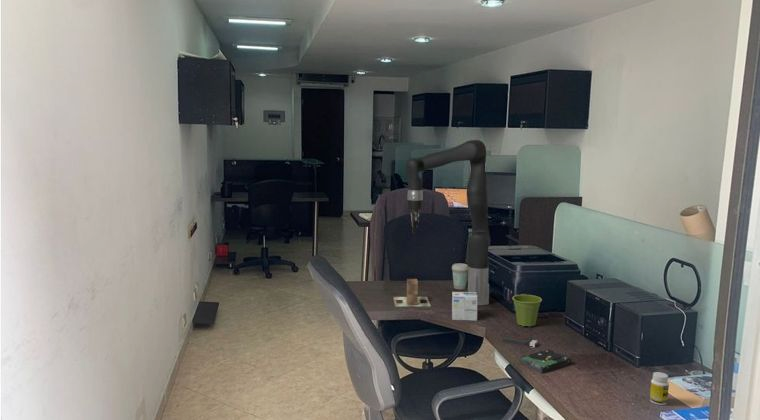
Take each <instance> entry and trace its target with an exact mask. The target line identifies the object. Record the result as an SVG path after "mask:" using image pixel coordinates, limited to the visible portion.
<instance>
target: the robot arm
mask: <svg viewBox="0 0 760 420" xmlns="http://www.w3.org/2000/svg"><path fill="white" fill-rule="evenodd" d="M486 160H487V148H486V145H485V143H484V142H483V141H482V140H480V139H473V140H472V139H471V140H467V141H464V142H463V143H461V144H459V145H456V146H454V147H452V148H449V149H446V150H439V151H436V152H431V153H428V154H426V155H424V156H422V157H421V156H419V157H411V158H409V159H407V160H406V163H405V173H406V178H407V185H408V186H407V198H406V199H407V201H406V202H407V203H406V204H407V206H406V208H407V209H409V210H411V212H410V222H411V227H412V229H411V231H412V232H411V233H412V235H417V234H418V226H419V222H420V221H419V220H420V219H419V218H420V211H418V210H422V209H423V207H424V205H423V202H424V193H423V184H424V183H423V179H422V178H421V177H420V175H419V173H422V172H426V171H428V170H430V169H436V168H439V167H444V166H446V165H448V164H451V163H455V162H461V161H463V162H464V161H465V162H466V161H469V163H470V167H469V168H470V173H469V178H468V180H467V181H468V182H467V186H466V204H467V208H468V212H469V214H470V215H469V216H470V219H471V235H470V236H469V238H468V240H467V263H468V274H467V292H477V306H485V305H489V301H490V284H489V269H490V268H489V267H490V263H489V262H490V261H489V247H490V245H491V235H490V229H489V221H488V211H489V208H488V205H489V204H488V190H487V189H488V188H487V173H486V164H487V163H486Z"/></svg>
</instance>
